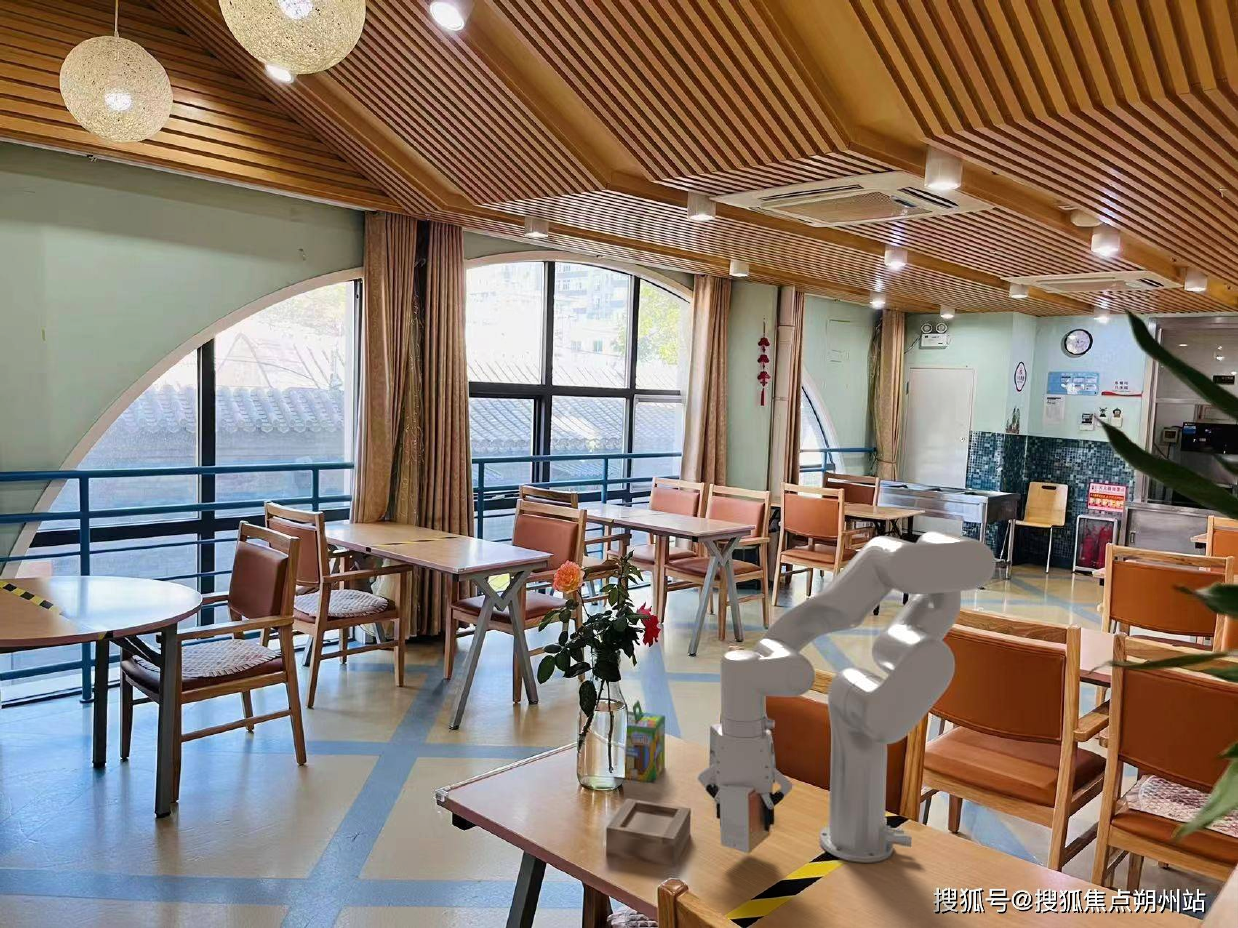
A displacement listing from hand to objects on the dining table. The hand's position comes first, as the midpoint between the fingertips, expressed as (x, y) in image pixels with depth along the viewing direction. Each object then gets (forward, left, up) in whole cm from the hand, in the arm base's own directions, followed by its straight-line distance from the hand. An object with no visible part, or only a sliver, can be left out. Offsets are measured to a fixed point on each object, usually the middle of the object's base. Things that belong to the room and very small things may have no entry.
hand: (745, 824), depth 154 cm
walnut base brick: (+17, +1, -6) cm, 18 cm away
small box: (0, 0, -3) cm, 3 cm away
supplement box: (+7, -26, -6) cm, 28 cm away
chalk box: (+27, -28, -6) cm, 40 cm away
